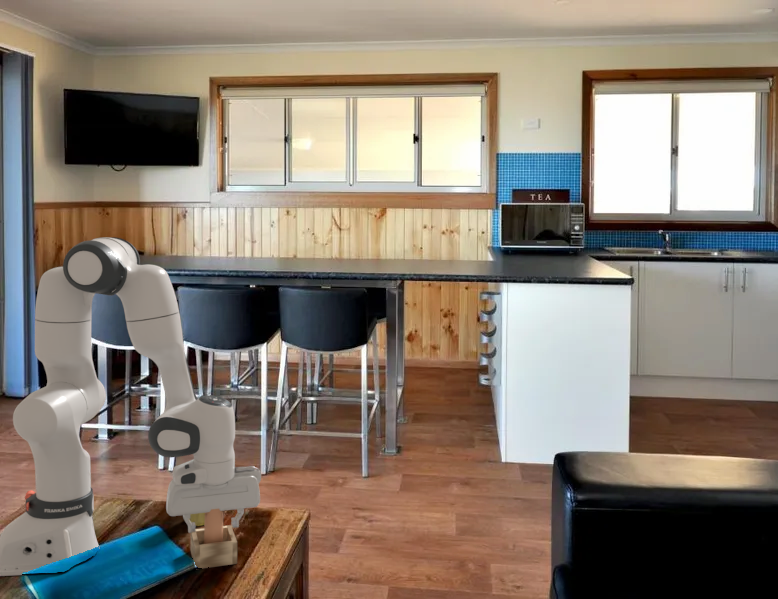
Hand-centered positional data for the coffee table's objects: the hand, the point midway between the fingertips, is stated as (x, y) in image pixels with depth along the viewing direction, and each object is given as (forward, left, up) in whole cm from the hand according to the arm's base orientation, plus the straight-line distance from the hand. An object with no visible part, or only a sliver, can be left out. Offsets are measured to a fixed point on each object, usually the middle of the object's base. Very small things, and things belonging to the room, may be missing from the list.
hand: (213, 529), depth 160 cm
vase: (-1, +20, -7) cm, 21 cm away
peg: (0, 0, -7) cm, 7 cm away
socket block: (0, 0, -7) cm, 7 cm away
